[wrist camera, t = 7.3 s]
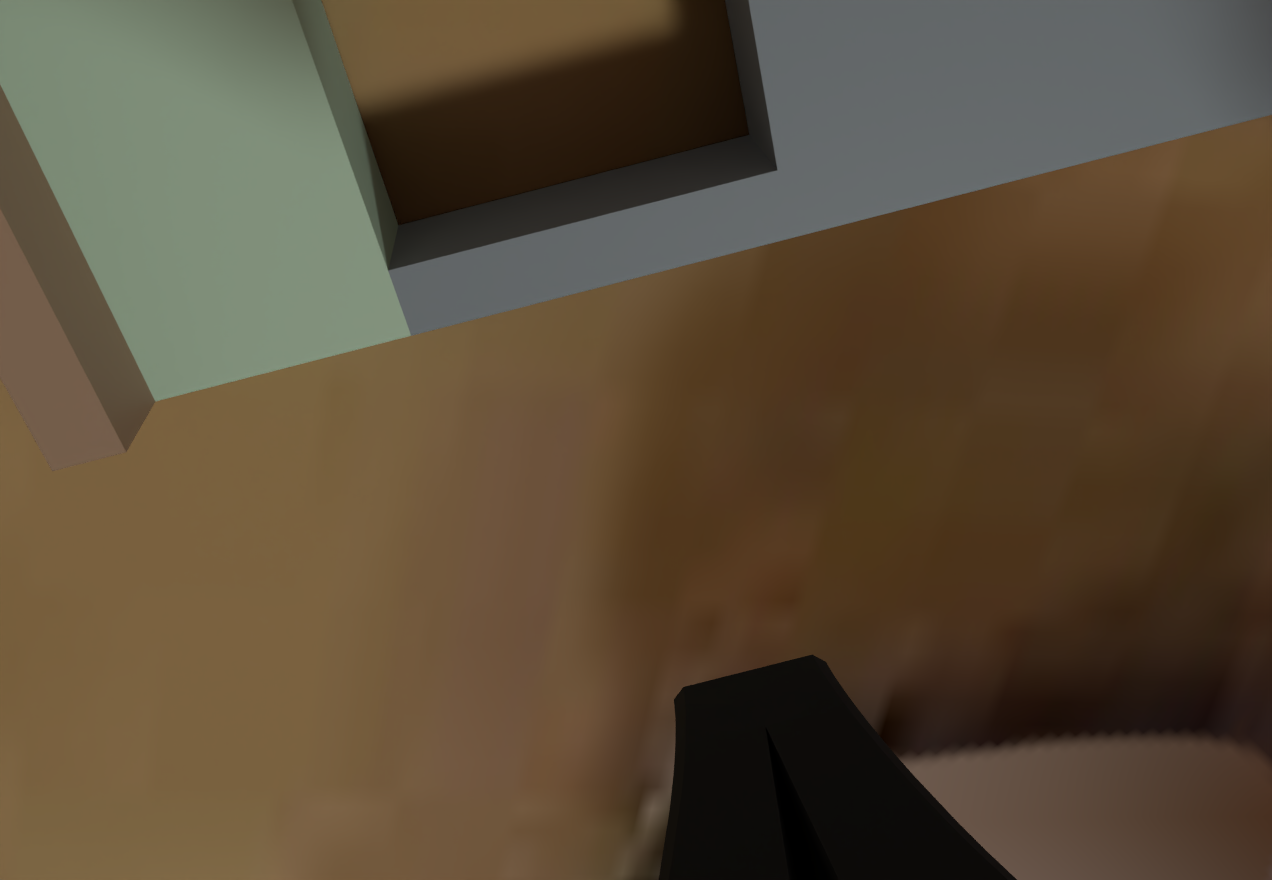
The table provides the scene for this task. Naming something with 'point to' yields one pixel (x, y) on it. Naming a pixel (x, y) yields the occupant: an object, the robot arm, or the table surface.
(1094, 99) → the board
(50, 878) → the table surface
